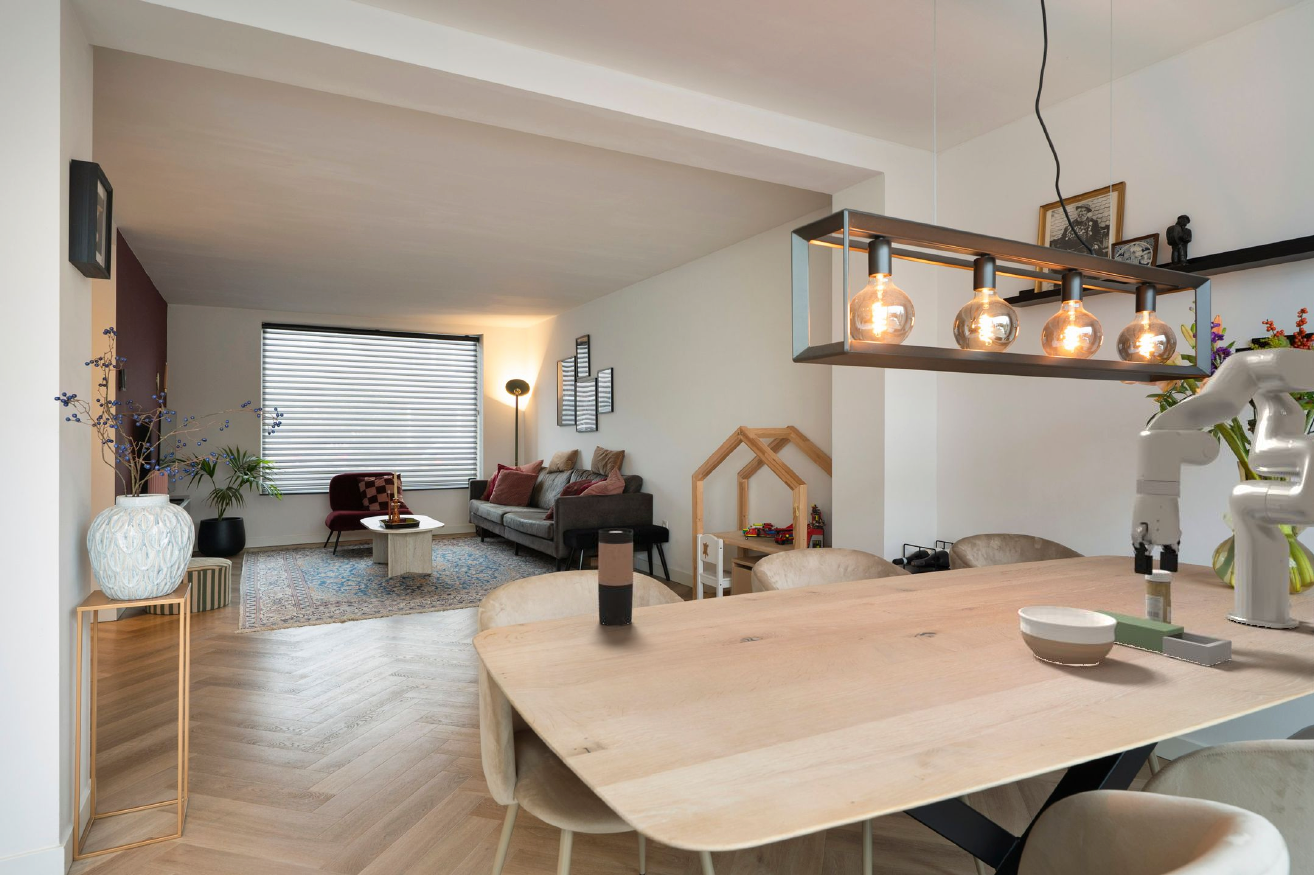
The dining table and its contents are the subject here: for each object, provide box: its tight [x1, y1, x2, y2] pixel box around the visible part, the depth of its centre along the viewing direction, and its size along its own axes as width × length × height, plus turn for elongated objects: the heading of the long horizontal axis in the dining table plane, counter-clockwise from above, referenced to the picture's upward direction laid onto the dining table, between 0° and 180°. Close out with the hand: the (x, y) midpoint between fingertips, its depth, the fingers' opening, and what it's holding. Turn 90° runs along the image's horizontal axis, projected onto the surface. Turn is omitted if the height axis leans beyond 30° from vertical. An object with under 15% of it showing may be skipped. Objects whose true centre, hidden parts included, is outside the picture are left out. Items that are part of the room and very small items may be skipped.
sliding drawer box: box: [1092, 609, 1233, 666], centre depth 144 cm, size 8×24×4 cm, turn 30°
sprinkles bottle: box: [1144, 569, 1173, 624], centre depth 153 cm, size 5×5×14 cm
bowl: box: [1017, 605, 1117, 665], centre depth 137 cm, size 16×16×8 cm
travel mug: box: [597, 528, 634, 626], centre depth 162 cm, size 8×8×20 cm
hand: (1156, 572), depth 152 cm, fingers open, 9 cm apart
